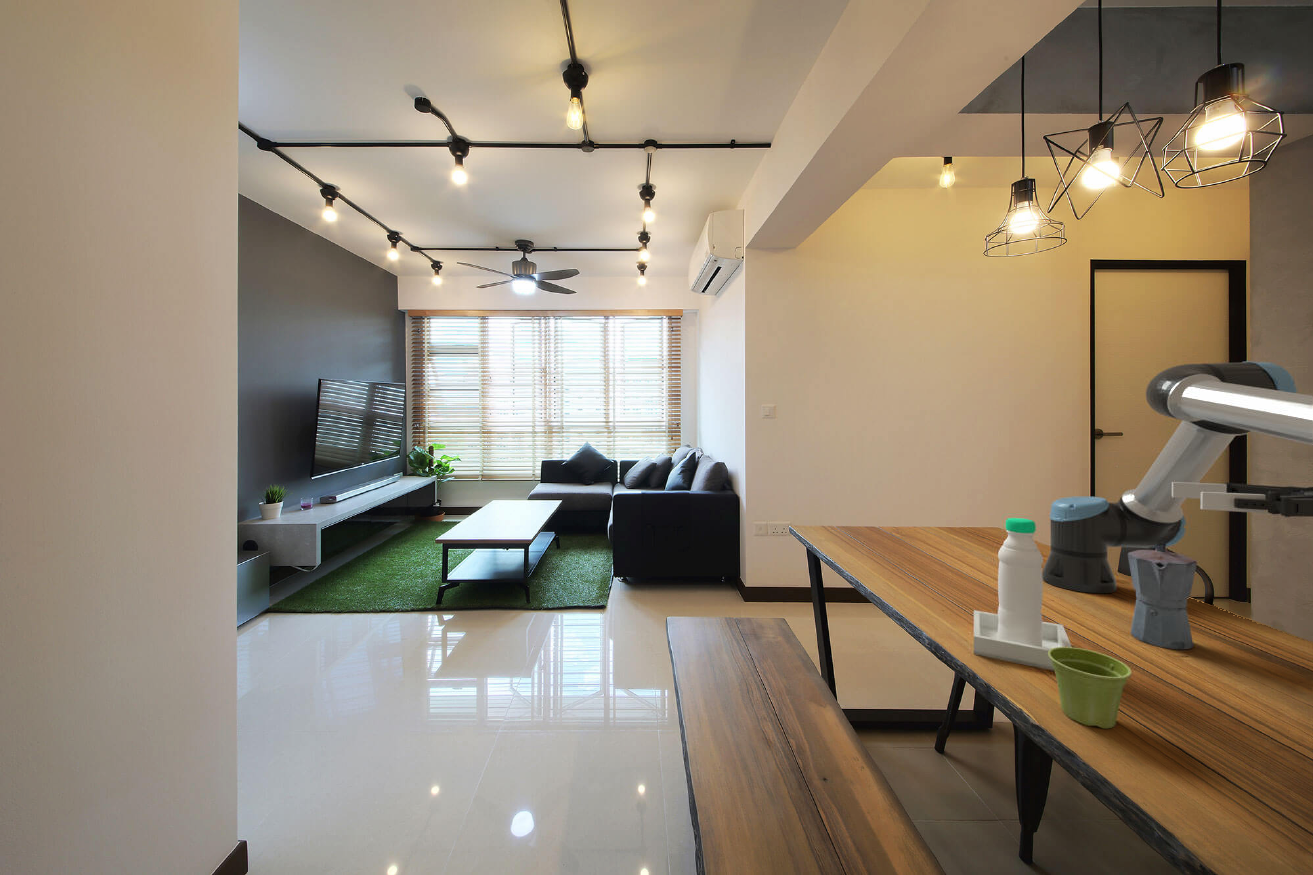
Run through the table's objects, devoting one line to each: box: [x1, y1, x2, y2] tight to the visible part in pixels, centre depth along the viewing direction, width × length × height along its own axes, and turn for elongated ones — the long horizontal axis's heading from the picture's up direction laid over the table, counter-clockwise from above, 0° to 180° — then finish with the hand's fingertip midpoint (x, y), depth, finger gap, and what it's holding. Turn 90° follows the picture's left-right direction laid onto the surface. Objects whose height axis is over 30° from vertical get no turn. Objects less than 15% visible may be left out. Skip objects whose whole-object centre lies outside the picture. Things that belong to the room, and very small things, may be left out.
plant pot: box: [1048, 646, 1132, 729], centre depth 73 cm, size 9×9×9 cm
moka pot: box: [1127, 543, 1197, 650], centre depth 98 cm, size 10×15×20 cm, turn 137°
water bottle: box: [997, 517, 1044, 647], centre depth 95 cm, size 7×7×25 cm
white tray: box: [973, 610, 1073, 672], centre depth 96 cm, size 15×15×4 cm
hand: (1185, 494), depth 82 cm, fingers open, 13 cm apart
